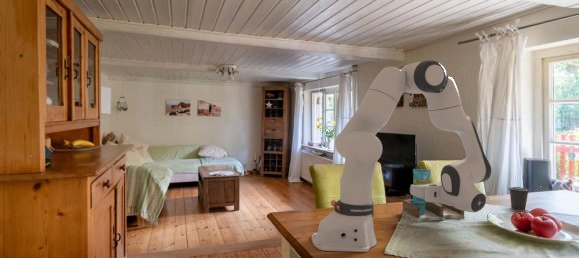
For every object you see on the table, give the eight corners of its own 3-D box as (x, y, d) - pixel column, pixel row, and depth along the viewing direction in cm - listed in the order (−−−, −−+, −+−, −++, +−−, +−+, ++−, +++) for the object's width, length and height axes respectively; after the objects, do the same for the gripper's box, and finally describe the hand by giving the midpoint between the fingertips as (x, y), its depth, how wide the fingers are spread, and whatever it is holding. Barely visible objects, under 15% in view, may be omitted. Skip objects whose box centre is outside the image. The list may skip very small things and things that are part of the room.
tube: (412, 214, 137) (415, 169, 137) (407, 210, 142) (411, 167, 142) (429, 215, 138) (432, 170, 137) (424, 211, 142) (427, 168, 142)
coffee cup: (522, 206, 156) (522, 185, 156) (532, 211, 148) (533, 189, 148) (504, 205, 157) (504, 185, 157) (514, 210, 149) (514, 189, 149)
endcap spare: (438, 218, 137) (438, 205, 137) (423, 210, 149) (423, 197, 149) (464, 217, 139) (464, 204, 138) (447, 209, 150) (447, 197, 150)
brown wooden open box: (416, 221, 134) (416, 207, 133) (402, 212, 146) (402, 199, 145) (443, 220, 135) (443, 206, 135) (427, 211, 147) (427, 198, 147)
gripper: (466, 183, 130) (440, 177, 144) (424, 186, 124) (401, 179, 138) (465, 198, 131) (440, 191, 144) (424, 202, 125) (401, 194, 138)
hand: (421, 185), depth 141 cm, fingers open, 8 cm apart
